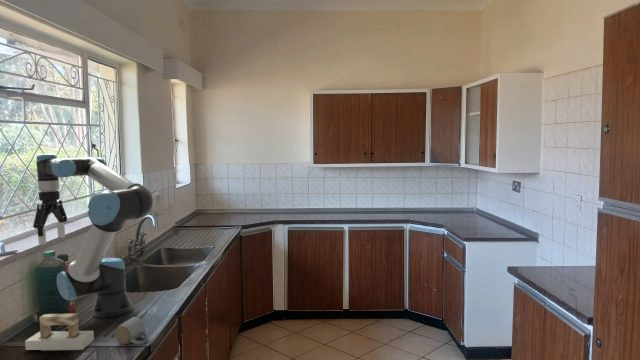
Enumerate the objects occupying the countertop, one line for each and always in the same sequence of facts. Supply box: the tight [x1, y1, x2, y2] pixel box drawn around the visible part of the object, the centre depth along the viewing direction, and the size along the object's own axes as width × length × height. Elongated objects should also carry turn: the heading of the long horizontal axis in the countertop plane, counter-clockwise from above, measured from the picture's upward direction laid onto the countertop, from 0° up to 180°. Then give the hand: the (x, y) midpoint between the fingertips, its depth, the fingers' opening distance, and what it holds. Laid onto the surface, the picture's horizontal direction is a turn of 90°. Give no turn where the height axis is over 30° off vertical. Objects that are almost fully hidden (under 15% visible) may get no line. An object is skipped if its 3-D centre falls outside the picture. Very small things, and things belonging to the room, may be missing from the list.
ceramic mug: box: [114, 316, 149, 346], centre depth 164 cm, size 11×8×8 cm
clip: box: [38, 313, 80, 339], centre depth 162 cm, size 12×3×11 cm, turn 90°
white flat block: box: [24, 330, 95, 351], centre depth 162 cm, size 20×8×4 cm, turn 90°
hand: (52, 240), depth 192 cm, fingers open, 13 cm apart
